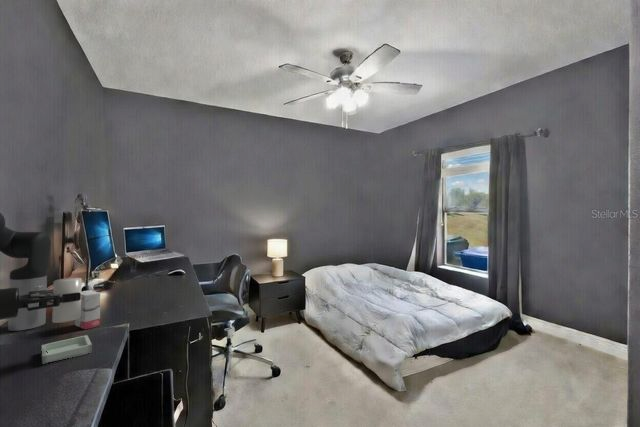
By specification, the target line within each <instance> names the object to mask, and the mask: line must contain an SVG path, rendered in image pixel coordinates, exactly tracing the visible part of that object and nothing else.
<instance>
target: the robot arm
mask: <svg viewBox="0 0 640 427" xmlns="http://www.w3.org/2000/svg"><path fill="white" fill-rule="evenodd" d="M51 242H52V241H51V238H50V235H49V234H47V233H46V232H42V231H16V230H12V229H10V228H8V227H6V219H5V217H4V215H3V213H1V212H0V253H2V254H4V255H5V256H7V257H10V258H14V259H27V263H26V264H25V265H23V266H21V267H18V268H15V269H12V270H11V271H10V273H9V285H8V286H9V287H8V288H0V321H1V320H2V321H3V320H8V324H7V326H8V327H7V331H11V332H14V331H15V332H18V331H25V330H30V329H34V328H38V327H42V326H43V325H45V324H46V322H47V320H46V317H47V316H46V314H47V309H48V308H53V307H56V306H59V305H60V304H62V302H63V303H66V302H73V301H79V300H80V299H81V293H79V292H77V293H69V294H58V295H53V288H52V289H47V288H48V286H47V284H48V283H47V281H48V280H47V278H48V275H47V274H48V270H49V266H50V260H51V259H50V258H51V251H52V248H51V247H52V243H51ZM53 299H54V300H53Z"/></svg>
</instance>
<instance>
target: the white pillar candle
mask: <svg viewBox="0 0 640 427" xmlns="http://www.w3.org/2000/svg"><path fill="white" fill-rule="evenodd" d="M82 282H83V278H82V277H70V278H69V277H68V278H67V277H66V278H59V279H56V280H53V282H52V283H53V284H52V285H53V286H52V289H53V295H58V294H69V293H77V292H79V293H81V291H82V289H83V287H82V286H83V283H82ZM53 300H54V299H53ZM53 300H52V301H53ZM80 317H81V299H80V300H79V301H73V302H66V303H63V302H62V304H60V305H59V306H56V307H52V317H51V319H52V320H51V322H52V323H53V324H54V323H55V324H59V323H68V322H72V321H75V320H76V319H79V318H80Z"/></svg>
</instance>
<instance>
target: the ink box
mask: <svg viewBox="0 0 640 427" xmlns="http://www.w3.org/2000/svg"><path fill="white" fill-rule="evenodd" d="M74 326H76V327H78V328H81V329H82V330H88V329H92V328H96V327H100V326H101V292H98V291H95V290H92V289H91V290H83V291H82V290H81V317H80V318H79V319H76V320H74Z"/></svg>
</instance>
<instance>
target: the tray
mask: <svg viewBox="0 0 640 427" xmlns="http://www.w3.org/2000/svg"><path fill="white" fill-rule="evenodd" d="M41 351H42V354H41V365H42V364H45V363H48V362H52V361H57V360H62V359H66V360H68V359H67V358H69V359H73V358H77V357H80V356H81V357H82V356H84V355H88V353H89V354H92V353H93V344H92V341H91V339H90V338H89V336H88V334H86V335H80V336H76V337H73V338H67V339H63V340H58V341H57V340H56V341H54V342H49V343H45V344H41ZM46 351H47V352H48V353H47V352H46ZM72 357H73V358H72ZM62 361H63V360H62Z"/></svg>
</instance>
